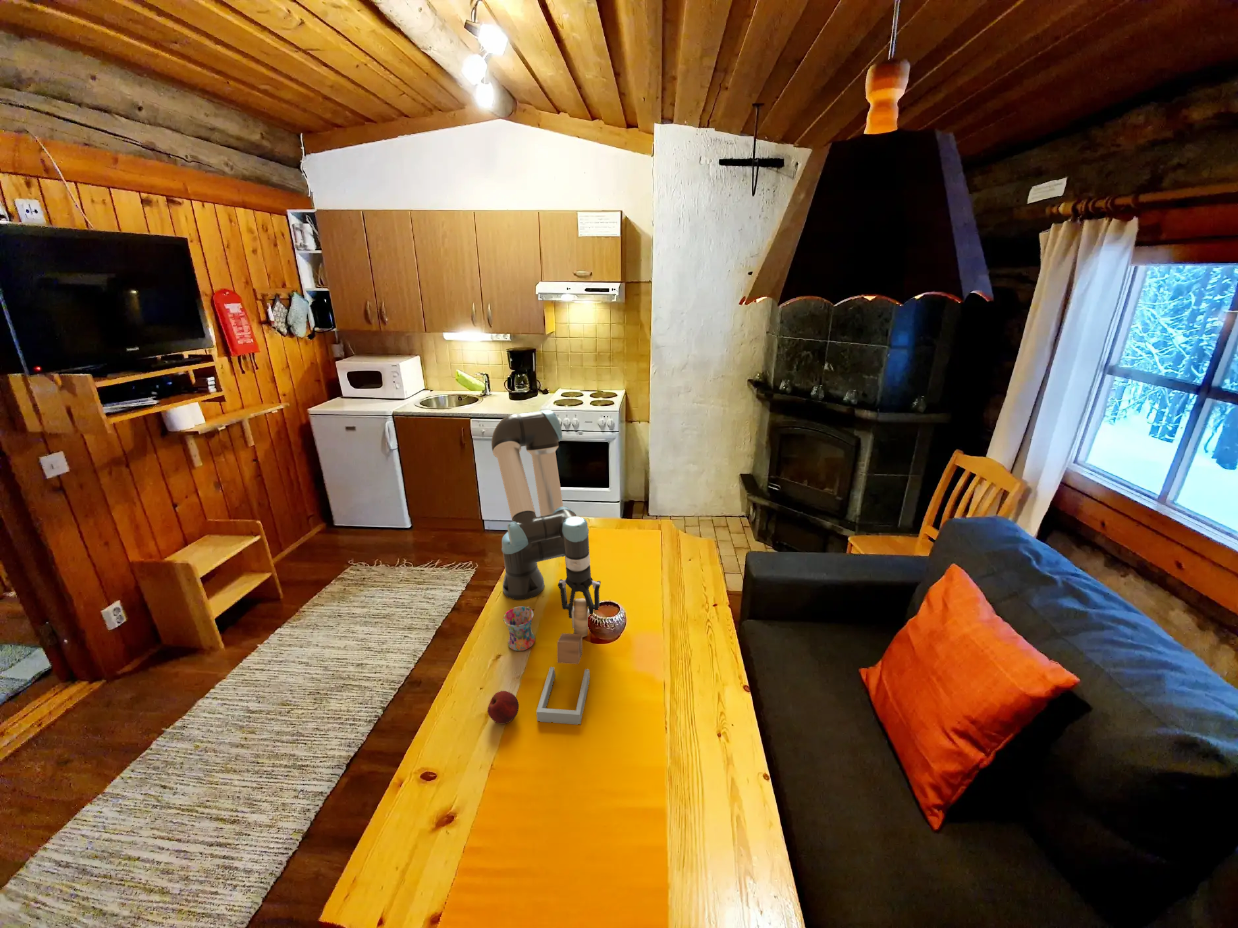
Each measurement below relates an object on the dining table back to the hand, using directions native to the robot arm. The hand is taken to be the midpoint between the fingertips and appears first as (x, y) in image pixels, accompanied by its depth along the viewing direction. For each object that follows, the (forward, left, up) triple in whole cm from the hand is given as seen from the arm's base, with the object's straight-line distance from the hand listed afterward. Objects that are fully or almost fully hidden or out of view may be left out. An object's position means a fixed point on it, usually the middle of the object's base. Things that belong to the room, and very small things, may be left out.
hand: (582, 625), depth 158 cm
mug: (+6, -18, -2) cm, 19 cm away
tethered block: (+11, 0, +2) cm, 12 cm away
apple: (+35, -14, -2) cm, 38 cm away
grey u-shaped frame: (+27, 0, -2) cm, 27 cm away
